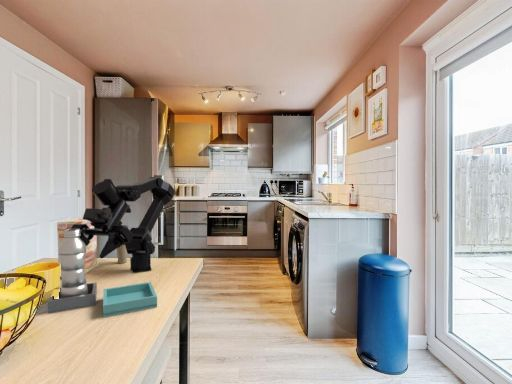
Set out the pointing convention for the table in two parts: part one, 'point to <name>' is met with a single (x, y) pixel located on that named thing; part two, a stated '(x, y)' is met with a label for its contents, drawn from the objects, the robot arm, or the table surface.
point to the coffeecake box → (90, 248)
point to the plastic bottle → (73, 264)
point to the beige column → (122, 253)
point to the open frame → (73, 300)
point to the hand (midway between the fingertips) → (87, 256)
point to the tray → (128, 299)
